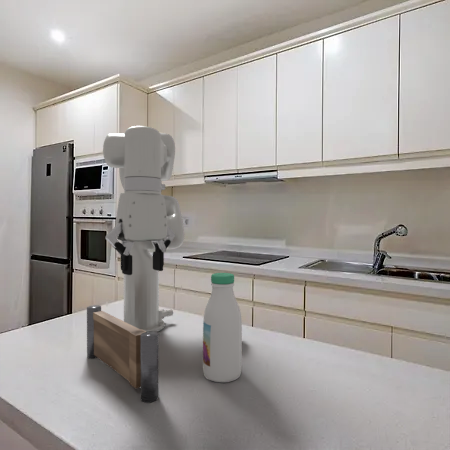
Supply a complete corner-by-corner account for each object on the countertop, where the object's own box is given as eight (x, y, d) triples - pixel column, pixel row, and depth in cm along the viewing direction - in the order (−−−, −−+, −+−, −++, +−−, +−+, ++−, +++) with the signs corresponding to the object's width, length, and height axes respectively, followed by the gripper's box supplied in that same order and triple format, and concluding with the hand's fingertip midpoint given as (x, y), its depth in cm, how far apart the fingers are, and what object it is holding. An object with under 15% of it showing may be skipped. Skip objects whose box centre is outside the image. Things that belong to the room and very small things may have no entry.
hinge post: (98, 351, 75) (97, 304, 75) (103, 355, 73) (103, 307, 73) (84, 355, 73) (84, 307, 73) (90, 359, 71) (89, 309, 70)
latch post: (152, 391, 58) (152, 330, 58) (161, 397, 56) (161, 334, 56) (137, 397, 56) (137, 334, 56) (146, 404, 54) (146, 339, 54)
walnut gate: (102, 352, 72) (102, 310, 72) (148, 384, 59) (148, 332, 58) (92, 355, 71) (91, 312, 70) (136, 388, 57) (136, 335, 57)
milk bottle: (246, 368, 67) (246, 272, 67) (235, 386, 60) (235, 278, 59) (211, 362, 70) (211, 270, 69) (196, 379, 62) (196, 276, 62)
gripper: (167, 191, 77) (167, 266, 77) (94, 185, 65) (95, 274, 65) (186, 189, 72) (186, 269, 72) (111, 183, 60) (111, 279, 60)
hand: (143, 271), depth 69 cm, fingers open, 6 cm apart
